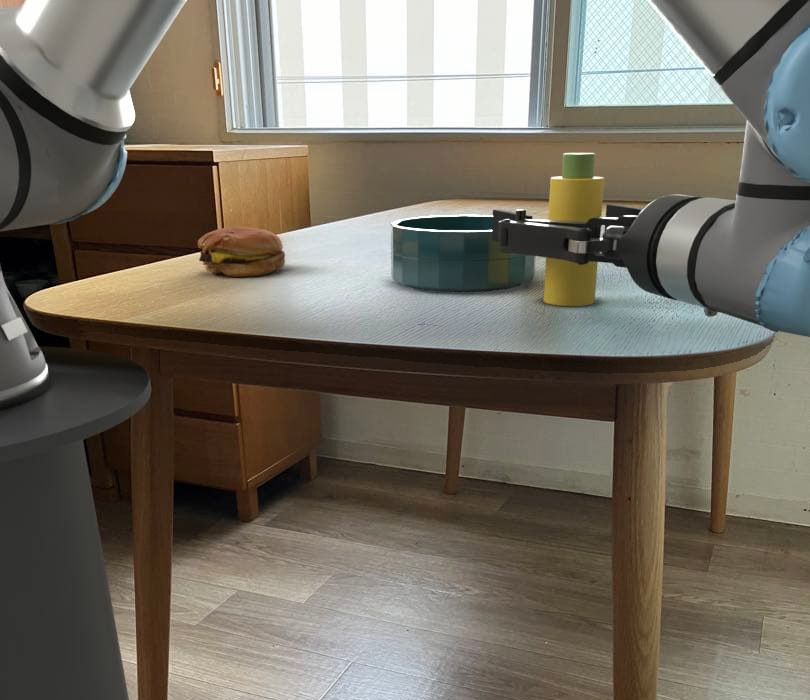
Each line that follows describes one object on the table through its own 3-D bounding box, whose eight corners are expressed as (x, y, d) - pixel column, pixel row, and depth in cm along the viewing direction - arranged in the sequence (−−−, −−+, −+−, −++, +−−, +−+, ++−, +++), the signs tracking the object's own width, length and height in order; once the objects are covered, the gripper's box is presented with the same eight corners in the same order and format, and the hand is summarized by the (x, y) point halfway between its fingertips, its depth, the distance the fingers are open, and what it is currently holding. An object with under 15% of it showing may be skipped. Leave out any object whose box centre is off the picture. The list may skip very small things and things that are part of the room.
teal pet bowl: (365, 287, 93) (363, 226, 90) (433, 266, 105) (434, 213, 102) (497, 299, 86) (500, 234, 83) (555, 276, 98) (558, 218, 95)
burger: (283, 263, 108) (280, 222, 106) (287, 275, 100) (284, 232, 98) (201, 266, 107) (196, 225, 105) (198, 279, 98) (193, 235, 96)
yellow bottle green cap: (535, 303, 84) (543, 154, 78) (554, 295, 88) (563, 152, 82) (584, 308, 82) (596, 155, 76) (601, 299, 85) (613, 152, 80)
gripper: (550, 313, 64) (438, 270, 83) (811, 290, 72) (654, 255, 90) (556, 204, 61) (438, 183, 80) (829, 191, 68) (663, 175, 87)
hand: (553, 221), depth 85 cm, fingers open, 11 cm apart
